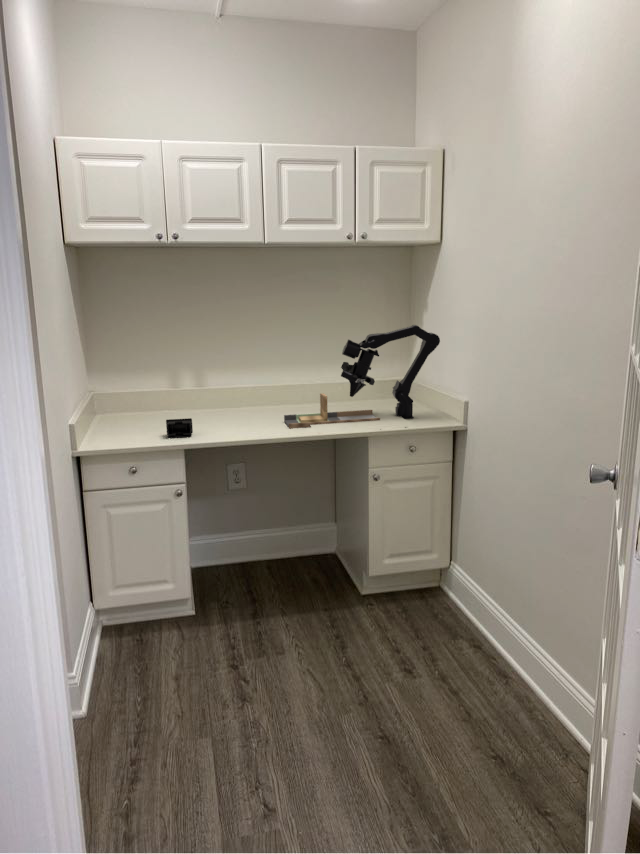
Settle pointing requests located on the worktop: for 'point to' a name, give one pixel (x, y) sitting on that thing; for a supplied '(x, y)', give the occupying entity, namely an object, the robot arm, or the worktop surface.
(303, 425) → the walnut front lip
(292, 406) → the worktop surface
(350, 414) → the trap track
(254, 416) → the worktop surface
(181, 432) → the end cap
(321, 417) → the oak bookend
